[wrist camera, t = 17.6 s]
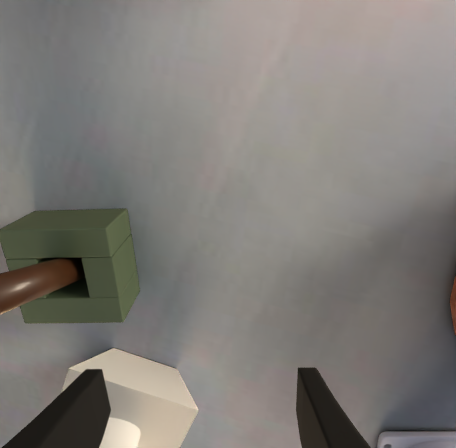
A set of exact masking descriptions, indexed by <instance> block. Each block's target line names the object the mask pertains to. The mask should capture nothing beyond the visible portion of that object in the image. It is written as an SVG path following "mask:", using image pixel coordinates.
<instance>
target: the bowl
mask: <svg viewBox="0 0 456 448" xmlns="http://www.w3.org/2000/svg"><path fill="white" fill-rule="evenodd" d="M450 307H451V314H452V320H453V326H454V333H455V335H456V275H455V279H454V283H453V288H452V292H451V296H450Z"/></svg>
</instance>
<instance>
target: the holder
mask: <svg viewBox="0 0 456 448" xmlns="http://www.w3.org/2000/svg"><path fill="white" fill-rule="evenodd" d="M0 242H1V245H2V249H3V252H4V255H5V258H6V263H7V266H8V269H9V271H12V270H16V269H19V268H23V267H27V266H30V265H34V264H38V263H41V262H45V261H49V260H53V259H56V258H74V257H82V264H83V268H84V273H85V278H83V279H81V280H78V281H76V282H74V283H72V284H69V285H67V286H65V287H62V288H60V289H58V290H55V291H53V292H51V293H49V294H46V295H44V296H42V297H39V298H37V299H35V300H32V301H30V302H28V303H26V304H23V305H21V306H20V309H21V312H22V315H23V318H24V322H25V323H106V322H124V320H125V318H126V316H127V314H128V313H129V311H130V309H131V307H132V305H133V303H134V301H135V299H136V297H137V295H138V294H139V292H140V288H139V282H138V275H137V270H136V269H137V268H136V261H135V254H134V248H133V241H132V235H131V230H130V223H129V217H128V210H127V209H92V210H54V211H34V212H32V213H30V214H28V215H26V216H24V217H23V218H21V219H19V220H17V221H15V222H13V223H11V224H9V225H7V226H5V227H3V228H1V229H0Z"/></svg>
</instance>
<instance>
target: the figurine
mask: <svg viewBox="0 0 456 448" xmlns="http://www.w3.org/2000/svg"><path fill="white" fill-rule="evenodd" d="M86 369H102V371H103V375H104V380H105V384H106V389H107V393H108V398H109V403H110V407H111V413H110V416H109V419H108V423H107V426H106V429H105V433H104V436H103V439H102V442H101V444H100V447H99V448H180V446H181V444H182V442H183V440H184V438H185V436H186V434H187V432H188V430H189V428H190V426H191V424H192V422H193V421H194V419H195V417H196V415H197V413H198V411H199V410H198V408H197V406H196V404H195V402H194V400H193V398H192V397H191V395H190V393H189V391H188V389H187V387H186V385H185V383H184V381H183V379H182V378H181V376H180V374H179V372H178V370H177V369H175V368H172V367H169V366H166V365H163V364H160V363H157V362H154V361H151V360H148V359H145V358H142V357H139V356H136V355H133V354H130V353H127V352H124V351H121V350H118V349H115V348H113V349H111V350H108V351H106V352H104V353H102V354H99V355H97V356H95V357H93V358H90V359H88V360H86V361H84V362H82V363H79V364H77V365H75V366H73V367H70V368H69V369H68V372H67V375H66V379H65V382H64V386H63V389H62V392H63V391H64V390H65V389H66V388H67V387H68V386H69V385H70V384H71V383H72V382H73V381H74V380H75V379H76V378H77V377H78V376H79V375H80V374H81V373H82V372H84V371H85V370H86ZM62 392H61V393H62Z"/></svg>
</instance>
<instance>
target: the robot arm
mask: <svg viewBox="0 0 456 448" xmlns="http://www.w3.org/2000/svg"><path fill="white" fill-rule="evenodd" d="M296 412H297V420H298V427H299V433H300V440H301V445H302V448H371V447H370V446H369V445H368V443H367V442H366V441H365V440H364V438H363V437H362V436H361V434H360V433H359V432H358V430H357V429H356V428H355V426H354V425H353V424H352V422H351V421H350V419H349V418H348V417H347V415H346V414H345V412H344V411H343V410H342V408H341V407H340V405H339V404H338V402H337V401H336V399H335V398H334V396H333V395H332V393H331V391H330V390H329V388H328V387H327V385H326V383H325V382H324V380H323V378H322V377H321V375H320V373H319V371H318V370H317V369H316V368H298V379H297V402H296ZM110 413H111V407H110V403H109V398H108V393H107V389H106V384H105V380H104V375H103V371H102V369H86V370H85V371H84V372H82V373H81V374H80V375H79V376H78V377H77V378H76V379H75V380H74V381H73V382H72V383H71V384H70V385H69V386H68V387H67V388H66V389H65V390H64V391H63V392H62V393H61V394H60V395H59V396H58V397H57V398H56V399H55V400H54V401H53V402H52V403H51V404H49V405H48V406H47V407H46V408H45V409H44V410H43V411H42V412H41V413H40V414H39V415H38V416H37V417H36V418H35V419H34V420H33V421H31V422H30V423H29V424H28V425H27V426H26V427H25V428H24V429H22V430H21V431H20V432H19V433H18V434H17V435H16V436H15V437H13V438H12V439H11V440H10V441H9V442H8V443H7V444H6V445H4V446H3V447H2V448H99V447H100V444H101V442H102V439H103V436H104V433H105V429H106V426H107V423H108V419H109V416H110ZM377 448H456V432H451V431H386V432H383V433H381V434H380V436H379V439H378V445H377Z"/></svg>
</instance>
